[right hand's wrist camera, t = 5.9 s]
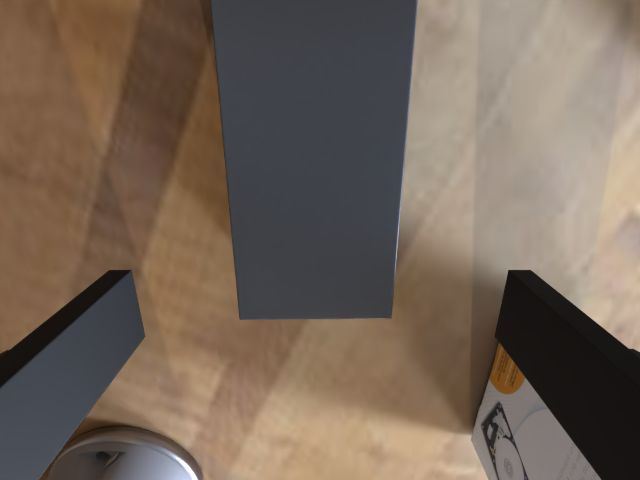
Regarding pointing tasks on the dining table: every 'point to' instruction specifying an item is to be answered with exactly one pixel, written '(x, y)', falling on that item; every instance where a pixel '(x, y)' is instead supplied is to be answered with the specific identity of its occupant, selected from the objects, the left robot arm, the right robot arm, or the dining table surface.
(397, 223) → the slab
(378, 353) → the dining table surface
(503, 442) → the hard drive box
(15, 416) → the right robot arm
